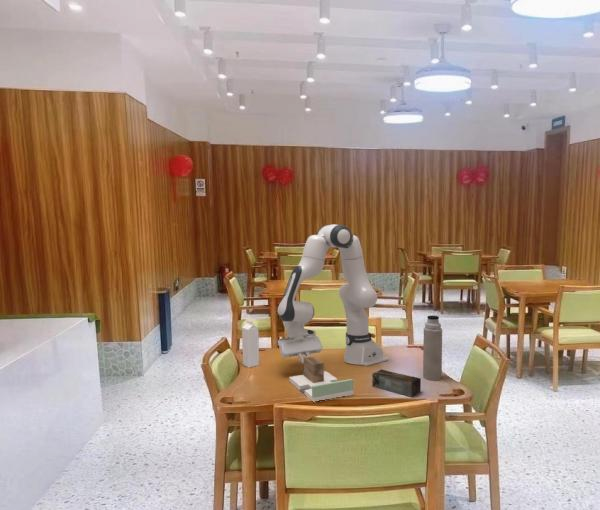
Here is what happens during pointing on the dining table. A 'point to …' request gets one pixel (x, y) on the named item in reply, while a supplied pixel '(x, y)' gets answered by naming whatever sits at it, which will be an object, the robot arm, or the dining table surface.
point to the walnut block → (313, 369)
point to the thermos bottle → (432, 349)
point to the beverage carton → (396, 382)
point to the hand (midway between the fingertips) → (305, 362)
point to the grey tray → (323, 387)
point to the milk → (250, 344)
